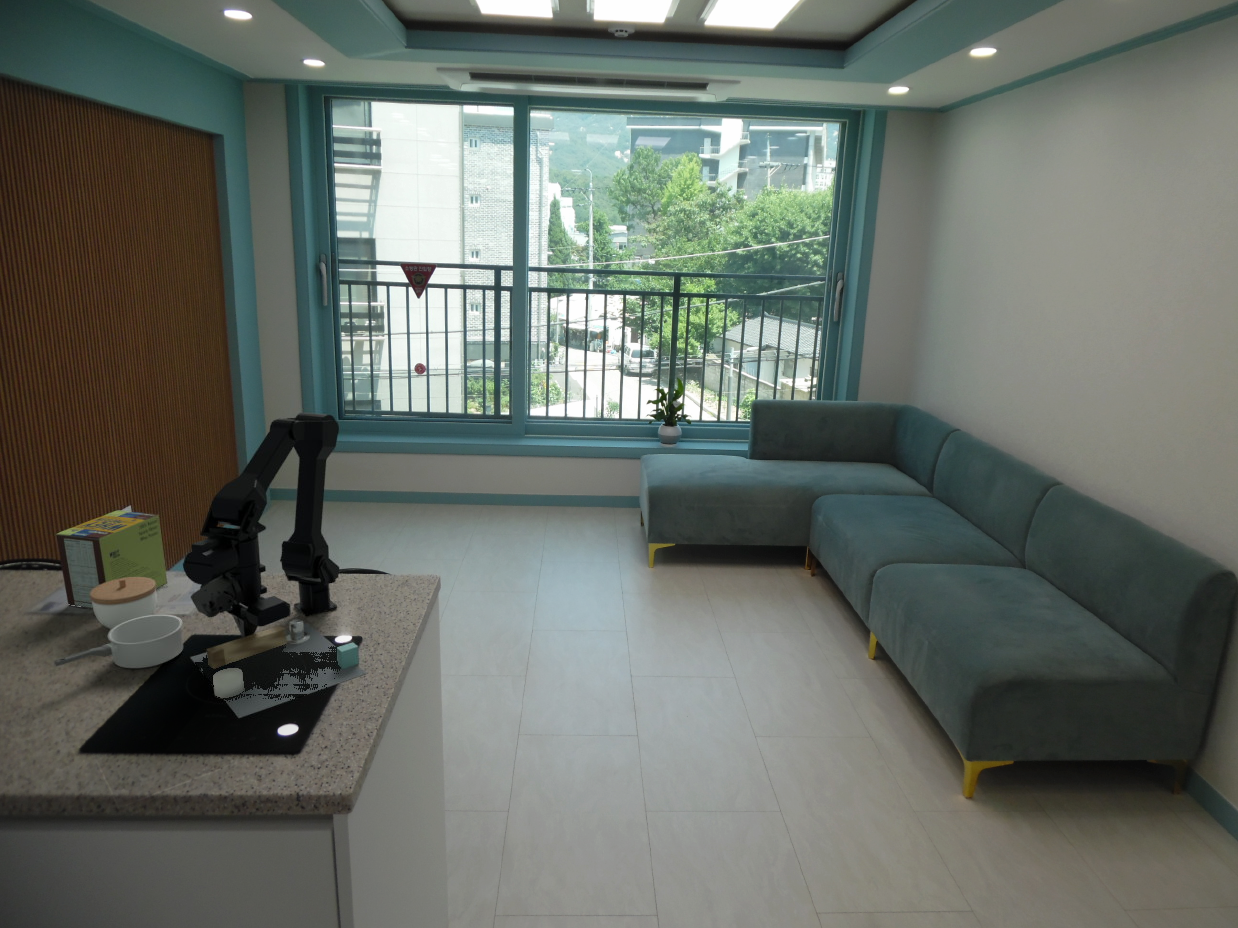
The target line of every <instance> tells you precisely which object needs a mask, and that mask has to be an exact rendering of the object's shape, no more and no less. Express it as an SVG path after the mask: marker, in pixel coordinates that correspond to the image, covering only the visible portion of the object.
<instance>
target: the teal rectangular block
mask: <svg viewBox="0 0 1238 928" xmlns="http://www.w3.org/2000/svg"><path fill="white" fill-rule="evenodd" d="M336 647H337V646H336ZM337 661H338V665H339V666H340V667H341V668H342V669H345V668H347V667H350V666H353V665H356V664H357V665H359V664H360V656H359V646H358V645H357V644H356V643H355V642H353V641H352V642H350V643H346V644H343V645H340V646H338V647H337Z"/></svg>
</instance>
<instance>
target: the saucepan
mask: <svg viewBox="0 0 1238 928" xmlns="http://www.w3.org/2000/svg"><path fill="white" fill-rule="evenodd" d="M183 624H184V623H183V620H182V619H181V618H180V617H179V616H175V615H173V614H153V615H149V616H143V617H139V618H135V619H131V620H128V621H126V622H123V623H121V624H119V625H117V626H116V627H114V628H113V629H111V630H110V629H109V631H108V633H107V639H108V641H110V642H109V643H107V644H106V643H105V644H103V645H101V646H99V647H93V648H89V649H86V650H83V651H80V652H77V653H74V654H70V655H68V656H65V657H62V658H59V659H56V660H54V666H55V667H59V666H62V665H66V664H69V663H72V662H75V661H78V660H82V659H84V658H87V657H91V656H97V657H105V658H106V657H108V656H111V655H112V659H113V663H114V664H115V665H117V666H118V667H121V668H125V669H126V668H127V669H142V668H144V669H145V668H150V667H155V666H159V665H161V664H163V663H167V662H168V661H171V660H173V659H174V658H175V657H177V656H179V654H181V652H182V651H183V650H184V643H183V641H184V640H183V635H182V634H183V633H182V626H183Z"/></svg>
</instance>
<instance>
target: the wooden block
mask: <svg viewBox="0 0 1238 928" xmlns="http://www.w3.org/2000/svg"><path fill="white" fill-rule="evenodd" d="M286 629H287V628H285V627H284V626H282V625H276V626H273V627H271V628H267V629H265V630H262V631H259V632H255V633H254V634H252V635H249V636H246V637H240V638H238V639H234V640H231V641H227V642H224V643H222V644H218V645H215V646H214V645H213V646H212V647H208V648H206V652H207V658H208V665H209V666H210V667H211V668H213V669H216V668H219V667H221V666H224V665H227V664H229V663H232V662H236V661H239V660H241V659H244V658H247V657H250V656H253V655H256V654H259V653H262V652H265V651H268V650H270V649H273V648H276V647H279V646H282V645H285V644H287V639H286Z"/></svg>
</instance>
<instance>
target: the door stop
mask: <svg viewBox="0 0 1238 928" xmlns="http://www.w3.org/2000/svg"><path fill="white" fill-rule="evenodd" d="M213 685H214V687H213V692H214V696H215V697H216V696H217V697H216V698H218V697H220V698H219V699H223V698H229V697H233V696H236V695H239V694H240V693H242V692H243V691H244V681H243V672H242V670H241V669H239V668H227V669H223V670H220V671H218V672H216V673H215V674H214V675H213ZM213 685H212V686H213Z"/></svg>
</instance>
